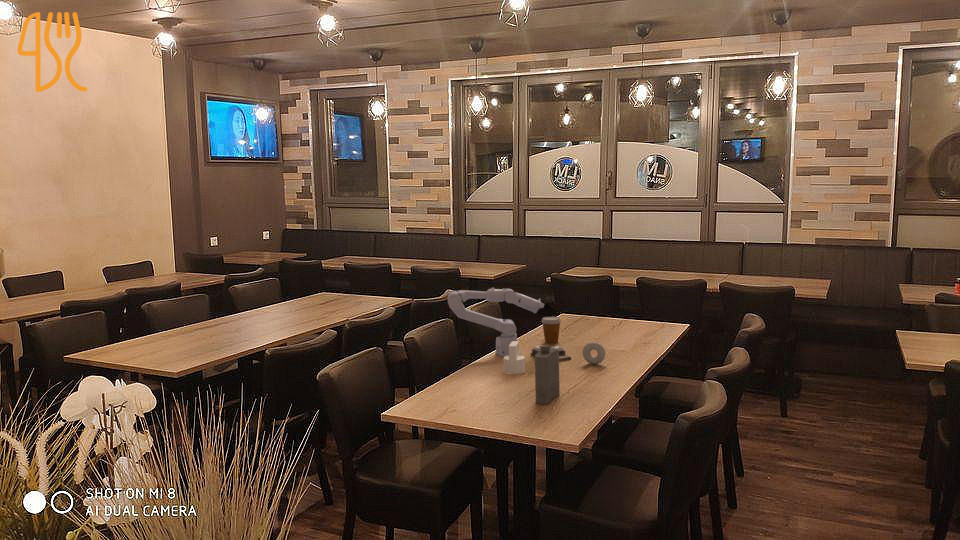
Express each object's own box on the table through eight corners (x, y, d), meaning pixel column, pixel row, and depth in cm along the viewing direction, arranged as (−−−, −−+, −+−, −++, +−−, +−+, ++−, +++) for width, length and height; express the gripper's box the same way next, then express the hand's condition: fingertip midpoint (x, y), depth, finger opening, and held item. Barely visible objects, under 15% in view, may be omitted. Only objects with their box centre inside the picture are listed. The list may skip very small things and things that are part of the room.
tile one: (538, 352, 329) (538, 347, 329) (534, 350, 333) (534, 345, 333) (546, 351, 331) (546, 346, 330) (542, 349, 334) (542, 344, 334)
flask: (547, 392, 277) (546, 340, 274) (561, 394, 274) (560, 342, 272) (531, 403, 264) (530, 349, 261) (546, 405, 261) (545, 351, 259)
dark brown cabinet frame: (545, 363, 319) (545, 356, 319) (530, 355, 333) (530, 349, 333) (571, 359, 324) (571, 353, 324) (555, 352, 338) (555, 346, 338)
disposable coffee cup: (561, 339, 363) (560, 316, 361) (561, 344, 353) (561, 320, 352) (542, 340, 364) (541, 316, 362) (541, 344, 354) (541, 320, 353)
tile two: (555, 352, 327) (555, 348, 327) (551, 351, 331) (550, 346, 331) (562, 351, 329) (562, 347, 328) (558, 349, 332) (558, 345, 332)
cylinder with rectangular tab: (523, 374, 303) (523, 346, 301) (502, 374, 304) (501, 345, 303) (526, 368, 311) (526, 341, 310) (505, 368, 313) (505, 341, 312)
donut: (581, 364, 315) (581, 341, 314) (583, 362, 318) (583, 340, 317) (604, 366, 311) (604, 343, 310) (606, 364, 315) (606, 341, 313)
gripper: (534, 292, 329) (561, 303, 330) (526, 297, 343) (552, 308, 344) (528, 307, 327) (556, 318, 328) (521, 311, 341) (548, 321, 342)
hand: (554, 313), depth 336 cm, fingers open, 7 cm apart
